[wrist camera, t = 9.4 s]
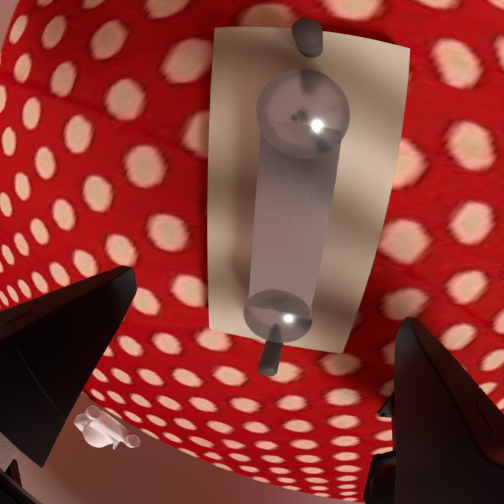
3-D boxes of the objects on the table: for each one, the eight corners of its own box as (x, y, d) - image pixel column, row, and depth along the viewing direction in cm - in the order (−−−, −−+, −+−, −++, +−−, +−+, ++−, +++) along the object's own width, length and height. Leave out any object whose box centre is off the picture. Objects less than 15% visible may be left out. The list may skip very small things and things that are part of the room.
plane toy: (70, 410, 49) (57, 429, 44) (96, 396, 39) (78, 422, 34) (108, 439, 51) (97, 458, 46) (145, 433, 41) (132, 460, 36)
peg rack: (342, 339, 22) (341, 391, 17) (215, 316, 23) (192, 362, 19) (402, 53, 12) (432, 35, 8) (223, 33, 14) (187, 12, 9)
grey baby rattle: (308, 322, 20) (305, 347, 18) (250, 311, 20) (241, 335, 18) (349, 80, 12) (354, 76, 10) (269, 70, 13) (259, 65, 11)
